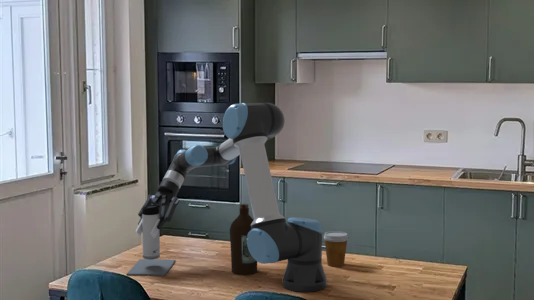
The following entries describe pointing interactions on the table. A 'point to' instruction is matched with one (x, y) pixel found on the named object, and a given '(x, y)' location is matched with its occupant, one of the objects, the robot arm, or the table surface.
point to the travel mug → (149, 243)
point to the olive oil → (241, 244)
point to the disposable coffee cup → (335, 248)
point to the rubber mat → (151, 267)
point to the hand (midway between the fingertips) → (145, 234)
